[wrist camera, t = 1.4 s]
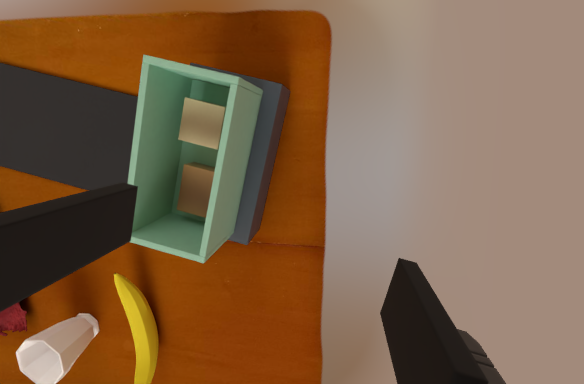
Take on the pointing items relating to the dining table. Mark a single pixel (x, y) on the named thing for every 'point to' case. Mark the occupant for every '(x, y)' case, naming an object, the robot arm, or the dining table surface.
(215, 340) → the dining table surface
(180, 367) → the dining table surface
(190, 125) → the beige square block
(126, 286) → the banana
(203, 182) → the brown rectangular tile
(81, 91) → the mat
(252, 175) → the block
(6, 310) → the plate with food
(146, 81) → the open box
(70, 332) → the cup
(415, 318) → the robot arm
